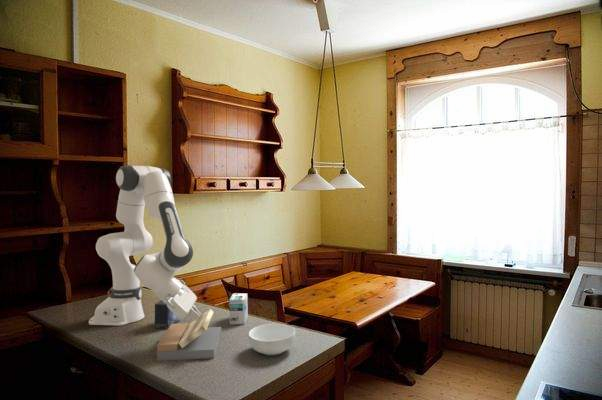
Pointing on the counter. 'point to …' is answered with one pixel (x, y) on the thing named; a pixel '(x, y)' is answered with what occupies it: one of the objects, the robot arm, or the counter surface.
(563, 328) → the counter surface
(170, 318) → the small box
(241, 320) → the light bulb box
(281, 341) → the cereal bowl
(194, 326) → the birch plank
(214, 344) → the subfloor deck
